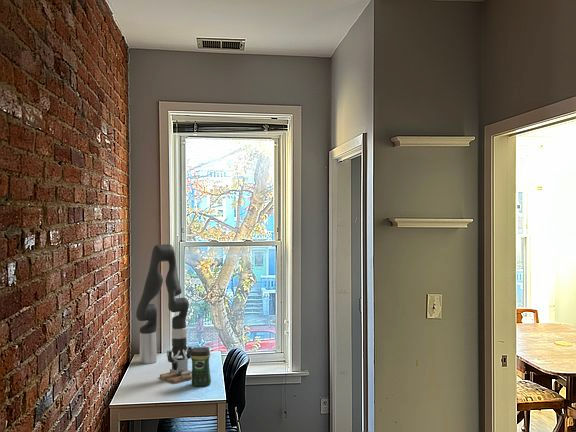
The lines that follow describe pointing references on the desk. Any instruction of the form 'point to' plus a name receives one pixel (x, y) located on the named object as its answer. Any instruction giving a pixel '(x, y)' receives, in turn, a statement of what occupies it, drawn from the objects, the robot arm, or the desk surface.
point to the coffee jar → (200, 366)
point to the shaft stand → (177, 376)
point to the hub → (181, 365)
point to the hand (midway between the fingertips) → (179, 368)
